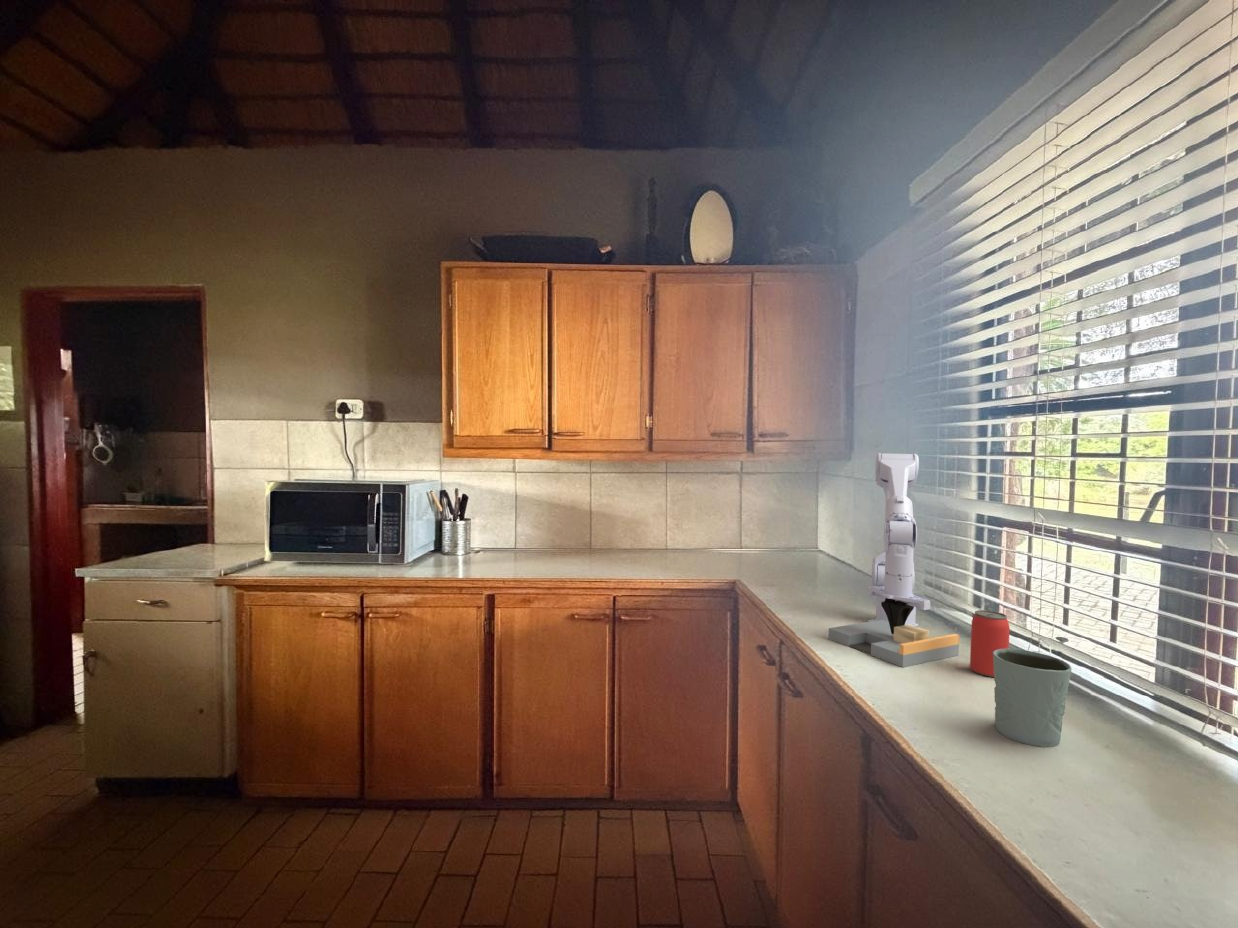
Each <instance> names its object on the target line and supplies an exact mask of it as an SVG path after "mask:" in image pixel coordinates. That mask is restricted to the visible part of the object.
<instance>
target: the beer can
mask: <svg viewBox="0 0 1238 928" xmlns="http://www.w3.org/2000/svg"><path fill="white" fill-rule="evenodd" d="M970 630H971V632H970V633H971V635H970V653H969V654H970V655H969V657H970V658H969V668H970V669H971V670H972V671H973V672H974V673H976V674H979V675H981V676H985V677H990V678H994V663H993V652H994V651H995V650H998V649H1010V630H1011V628H1010V624H1009V621H1008V616H1007V615H1006V614H1005V613H1002V612H998V611H993V610H987V609H978V610H975V611H974V615H973V616H972V619H971V628H970Z"/></svg>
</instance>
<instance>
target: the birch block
mask: <svg viewBox="0 0 1238 928" xmlns="http://www.w3.org/2000/svg"><path fill="white" fill-rule="evenodd" d="M924 639H930V630H928V629H925V628H921V627H919V626H912V625H903V626H897V627H894V641H897V642H900V643H902V644H903V643H908V642H914V641H919V640H924Z"/></svg>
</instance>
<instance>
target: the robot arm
mask: <svg viewBox="0 0 1238 928" xmlns="http://www.w3.org/2000/svg"><path fill="white" fill-rule="evenodd" d="M919 459H920V458H919V455H918V454H917V453H888V452H887V453H883V452H882V453H881V452H878V453H877V454H876V455H875V482H876V485H877V486H878V487H881V488H882V489H883V492H884V495H885V510H884V511H885V513H884V515H885V516H884V528H883V543H884V547H883V548H884V550H883V551H881V552H880V553H878V554H876V555H875V556H874V557H873V559H872V566H871V585H872V586H868V589H867V590H868V594H867V595H868V596H870V597H872V596H873V597H874V596H875V597H876V604H875V605H876V606H875V608H876V610H875V618H873V619H868V621H867V622H871V621H877V620H884V621H887V622H889V625H890V630H891V634H894V627H897V626H903V625H912V626H916V627H919V624H918V623H916V619H917V617H916V616H917V615H916V614H917V613H916V612H917V609H919V610H922V611H929V610H930V609H931V600H929V599H926V598H923V597H920V596H917V595H915V594H914V593H913V590H914V589H915V576H916V575H915V562H914V552H915V548H916V545H917V541H918V527H917V522H916V519H915V518H914V509H913V508H914V507H913V501H912V500H911V499H910V498H909V497H908V495H907V494H908V489H910V488H913V487H915V485H916V483H917V478H918V476H919V470H920V469H919V468H920V460H919ZM912 545H913V546H912Z"/></svg>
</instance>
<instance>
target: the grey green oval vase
mask: <svg viewBox="0 0 1238 928" xmlns="http://www.w3.org/2000/svg"><path fill="white" fill-rule="evenodd" d="M993 663H994V677H993V678H994V684H995V687H994V688H993V689H994V703H995V707H994V711H995V712H994V726H995V729H996V730H997V732H999V734H1001V735H1003V736H1004V737H1006V738H1008V739H1011V740H1013V741H1016V742H1017V743H1021V744H1025V745H1028V746H1035V747H1043V748H1053V747H1055V746H1058V745H1059V744H1060V742H1061V740H1062V739H1061V737H1062V731H1063V717H1064V715H1065V713H1066V712H1065V710H1066V702H1067V696H1068V692H1069V689H1068V688H1069V684H1070V680H1071V675H1072V669H1073V668H1072V666H1071V664H1070V663H1068V662H1066V661H1065V660H1062V659H1061V658H1060V659H1059V658H1057V657H1054V656H1051V655H1048V654H1045V653H1040V652H1035V651H1030V650H1025V649H1018V648H1009V649H998V650H995V651H994V652H993Z"/></svg>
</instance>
